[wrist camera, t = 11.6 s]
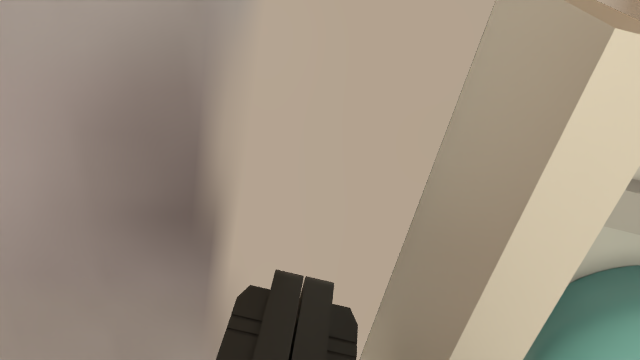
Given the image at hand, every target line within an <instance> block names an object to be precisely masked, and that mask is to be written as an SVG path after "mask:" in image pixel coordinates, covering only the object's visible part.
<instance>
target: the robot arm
mask: <svg viewBox="0 0 640 360" xmlns="http://www.w3.org/2000/svg"><path fill="white" fill-rule="evenodd" d="M302 283H303V276H301V275H297V274H293V273H288V272H284V271H280V270H276V271H275V274H274V278H273V282H272V286H271V290H269V289H265V288H260V287H256V286H252V285H250V286H249V287H248V288H247V289H246V290H244V291H243V292H242V293H241V294H240V295H239V296H238V297H237V299H236V302H235V305H234V308H233V311H232V314H231V317H230V320H229V323H228V326H227V329H226V332H225V335H224V338H223V341H222V343H221V346H220V349H219V352H218V355H217V358H216V360H356V357H357V356H356V355H357V346H356V345H357V329H358V327H357V326H358V325H357V322H356V320H355V318H354V316H353V314H352V312H351V309H350V308H348V307H344V306H339V305H335V304H332V299H333V289H334V283H332V282H328V281H324V280H320V279H315V278H310V277H307V276H306V278H305V281H304V284H303V288H302ZM301 288H302V292H301ZM300 293H301V296H300Z"/></svg>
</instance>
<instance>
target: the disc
mask: <svg viewBox="0 0 640 360" xmlns="http://www.w3.org/2000/svg"><path fill="white" fill-rule="evenodd" d="M523 360H640V265H638V266H626V267H620V268H613V269H609V270H605V271H601V272H597V273H594V274H591V275H588V276H586V277H583V278H580V279H578V280H576V281H574V282H572V283H570V284H568V286H567V287H566V289H565V291H564V292H563V294H562V296H561V297H560V299H559V301H558V302H557V304H556V306H555V307H554V309H553V311H552V312H551V314H550V316H549V317H548V319H547V321H546V322H545V324H544V326H543V327H542V329H541V331H540V332H539V334H538V336H537V337H536V339H535V341H534V342H533V344H532V346H531V347H530V349H529V351H528V352H527V354H526V356H525V357H524V359H523Z"/></svg>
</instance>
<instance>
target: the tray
mask: <svg viewBox="0 0 640 360" xmlns="http://www.w3.org/2000/svg"><path fill="white" fill-rule="evenodd" d="M638 265H640V20H638V19H635V18H633V17H631V16H629V15H627V14H625V13H622V12H620V11H618V10H616V9H614V8H612V7H609V6H607V5H605V4H603V3H601V2H598V1H596V0H496V1H495V4H494V6H493V9H492V12H491V14H490V17H489V20H488V22H487V25H486V28H485V30H484V33H483V35H482V38H481V41H480V43H479V46H478V49H477V51H476V54H475V57H474V59H473V62H472V65H471V67H470V70H469V72H468V75H467V78H466V81H465V83H464V86H463V88H462V91H461V93H460V96H459V99H458V102H457V104H456V107H455V109H454V112H453V115H452V117H451V120H450V123H449V125H448V128H447V130H446V133H445V136H444V138H443V141H442V144H441V147H440V149H439V151H438V154H437V157H436V159H435V162H434V165H433V167H432V170H431V173H430V175H429V178H428V180H427V183H426V186H425V188H424V191H423V194H422V197H421V199H420V202H419V205H418V207H417V210H416V212H415V215H414V218H413V220H412V223H411V225H410V228H409V231H408V233H407V236H406V239H405V241H404V244H403V246H402V249H401V252H400V254H399V257H398V260H397V262H396V265H395V267H394V270H393V273H392V275H391V278H390V281H389V283H388V286H387V289H386V291H385V294H384V296H383V299H382V302H381V305H380V307H379V310H378V313H377V315H376V318H375V320H374V323H373V326H372V328H371V331H370V333H369V336H368V339H367V341H366V344H365V347H364V349H363V352H362V354H361V357H360V360H523V359H524V357H525V356H526V354H527V352H528V351H529V349H530V347H531V346H532V344H533V342H534V341H535V339H536V337H537V336H538V334H539V332H540V331H541V329H542V327H543V326H544V324H545V322H546V321H547V319H548V317H549V316H550V314H551V312H552V311H553V309H554V307H555V306H556V304H557V302H558V301H559V299H560V297H561V296H562V294H563V292H564V291H565V289H566V287H567V286H568V284H570V283H572V282H574V281H576V280H578V279H580V278H583V277H586V276H588V275H591V274H594V273H597V272H601V271H605V270H609V269H613V268H620V267H626V266H638Z"/></svg>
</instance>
